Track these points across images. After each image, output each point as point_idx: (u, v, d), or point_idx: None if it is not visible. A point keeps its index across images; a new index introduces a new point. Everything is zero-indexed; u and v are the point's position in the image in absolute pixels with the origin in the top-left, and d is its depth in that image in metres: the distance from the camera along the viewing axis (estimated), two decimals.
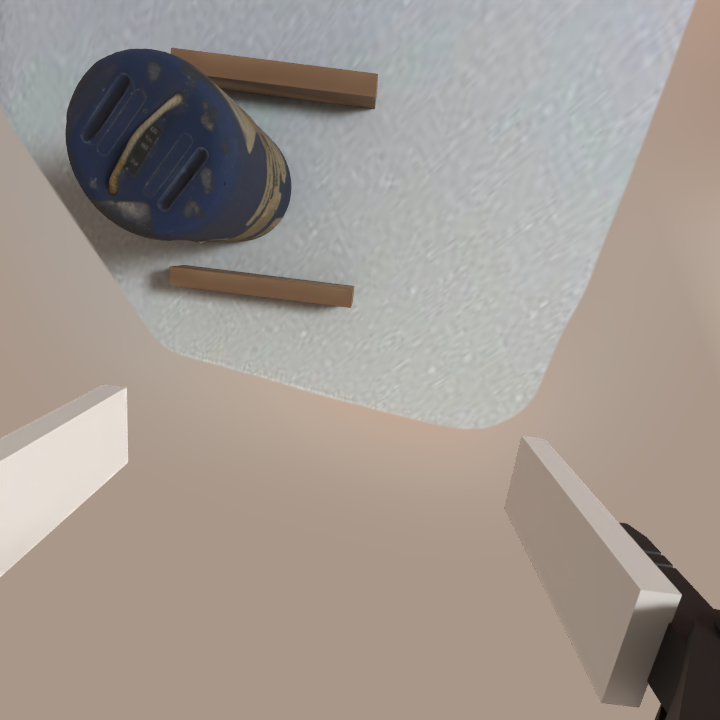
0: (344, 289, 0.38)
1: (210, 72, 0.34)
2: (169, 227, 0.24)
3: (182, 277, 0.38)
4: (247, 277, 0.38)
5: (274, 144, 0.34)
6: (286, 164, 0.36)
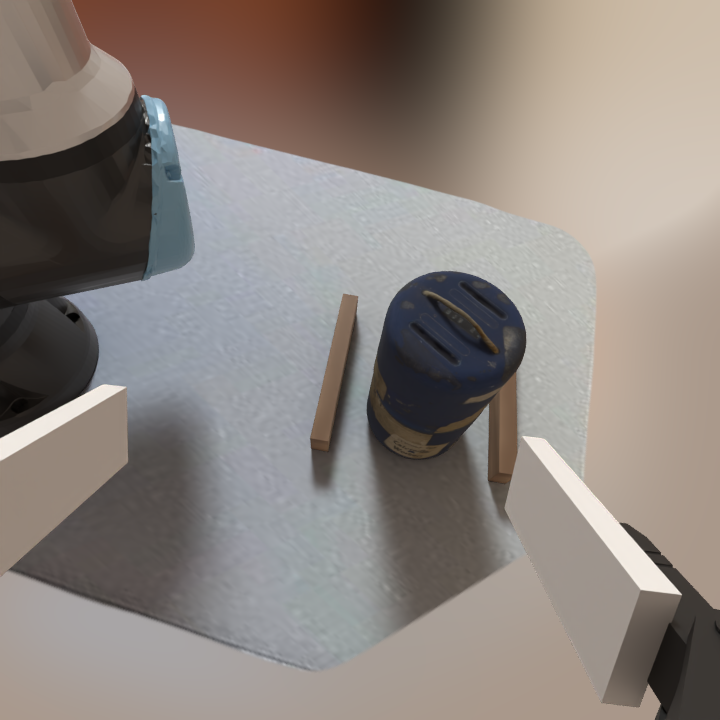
0: None
1: (332, 408, 0.39)
2: (519, 317, 0.29)
3: (508, 460, 0.38)
4: (500, 401, 0.41)
5: None
6: None
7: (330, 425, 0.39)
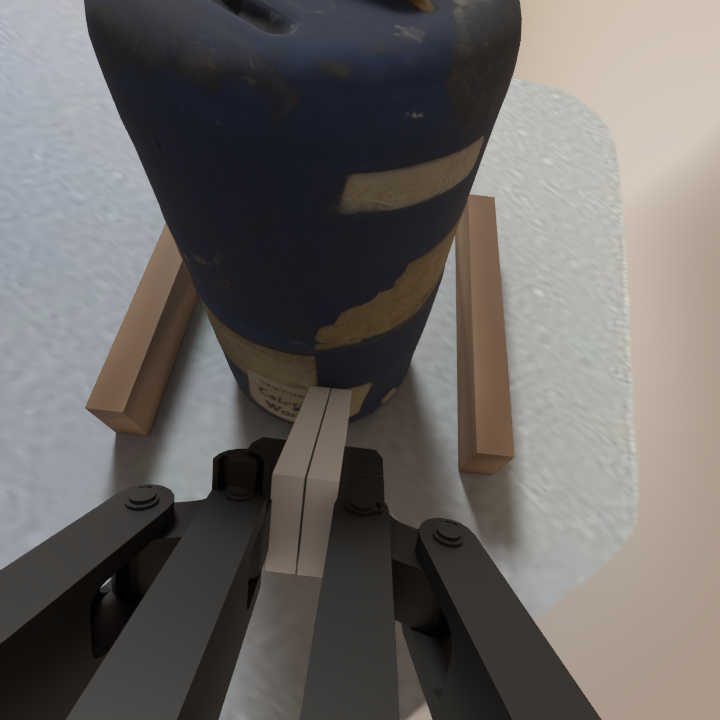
0: (469, 203, 0.26)
1: (142, 348, 0.20)
2: None
3: (494, 429, 0.19)
4: (474, 320, 0.22)
5: None
6: None
7: (132, 380, 0.19)
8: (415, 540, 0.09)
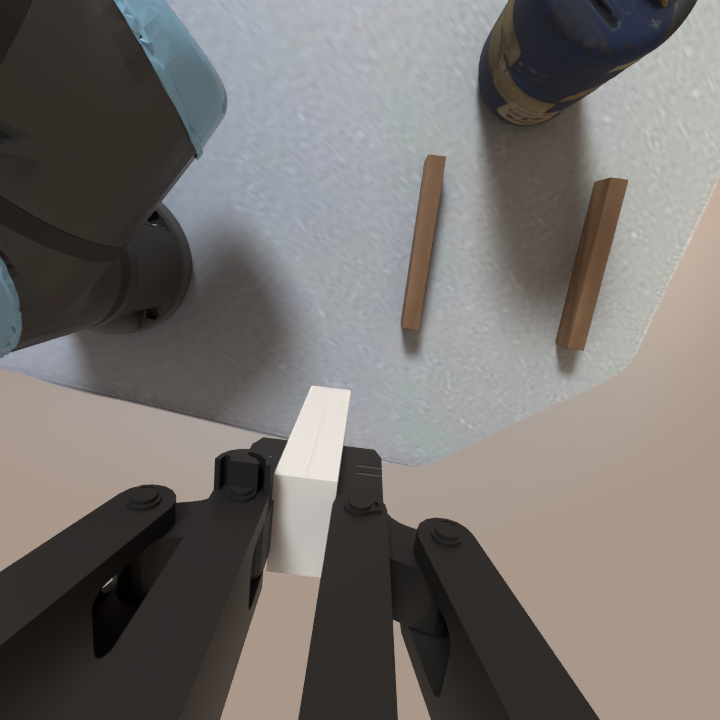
0: (609, 186, 0.40)
1: (420, 298, 0.43)
2: None
3: (578, 338, 0.43)
4: (585, 280, 0.42)
5: None
6: None
7: (419, 315, 0.43)
8: (413, 540, 0.09)
